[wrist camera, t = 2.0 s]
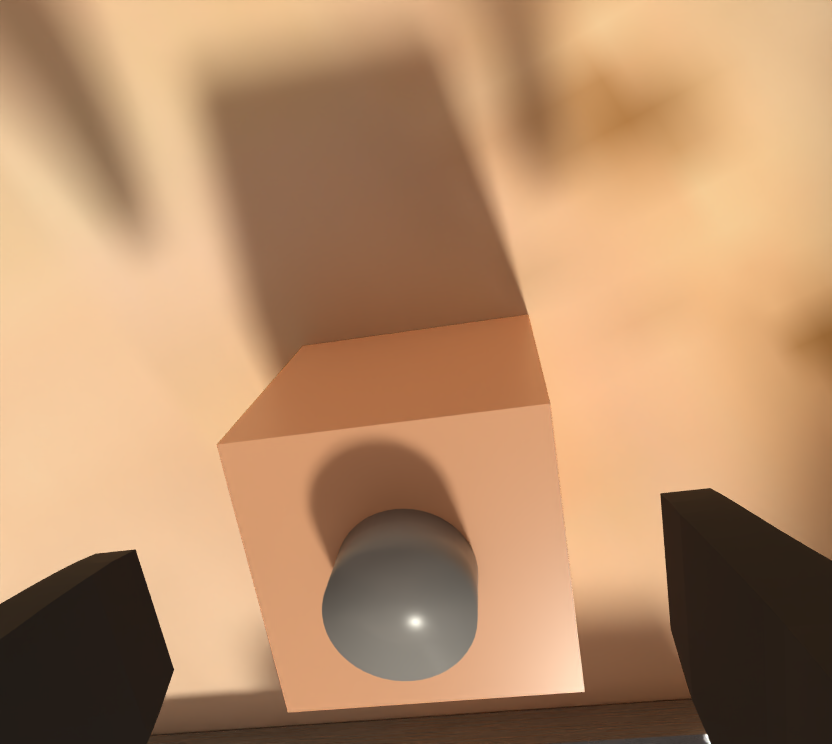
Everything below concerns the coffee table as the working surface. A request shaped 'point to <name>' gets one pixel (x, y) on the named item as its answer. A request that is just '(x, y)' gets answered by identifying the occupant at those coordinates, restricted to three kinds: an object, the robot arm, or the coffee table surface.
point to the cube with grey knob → (408, 520)
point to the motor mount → (489, 728)
